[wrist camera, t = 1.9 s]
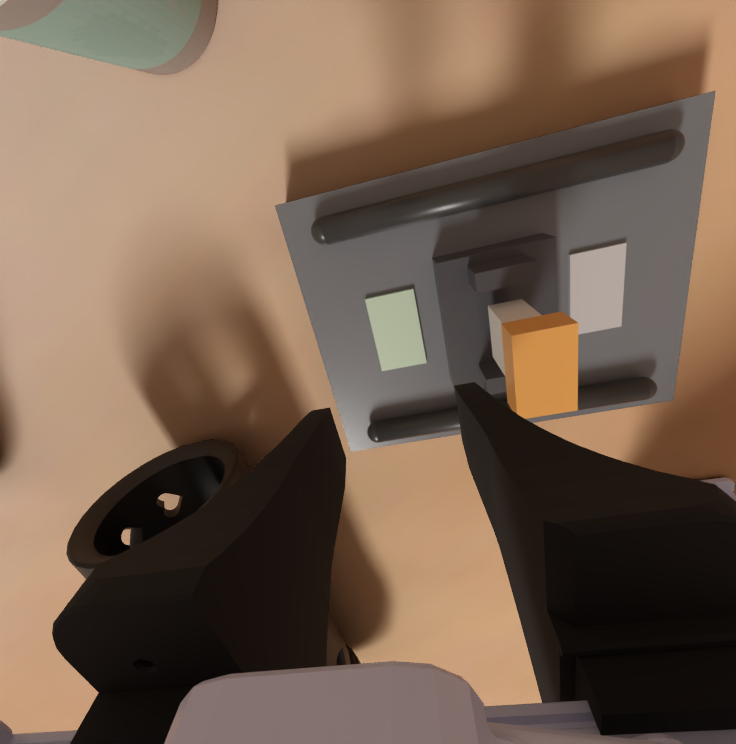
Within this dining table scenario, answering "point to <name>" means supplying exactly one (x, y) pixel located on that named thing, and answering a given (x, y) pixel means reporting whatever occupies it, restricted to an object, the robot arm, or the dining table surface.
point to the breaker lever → (535, 358)
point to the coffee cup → (116, 30)
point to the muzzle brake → (167, 511)
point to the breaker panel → (505, 268)
